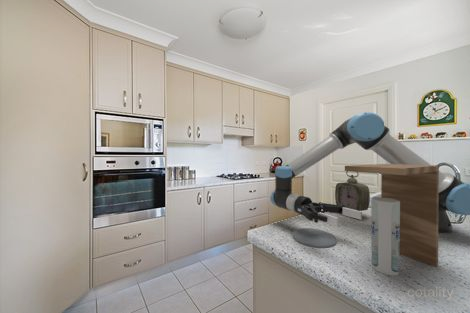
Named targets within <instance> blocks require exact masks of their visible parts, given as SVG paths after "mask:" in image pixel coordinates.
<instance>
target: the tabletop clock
mask: <svg viewBox="0 0 470 313" xmlns="http://www.w3.org/2000/svg"><path fill="white" fill-rule="evenodd" d="M348 173H349V171H345V174H346V176H347V177H349V178H348V179H347V180H346V182H338V183H336V185H335V190H334V198H335V205H342V206H343V205H345V206H346V208H349V209H353V210H357V211H361V212H363V211H368V209H369V208H370V204H371V203H370V202H371V201H370V200H371V199H370V196H371V195H370V194H371V193H370V188H369V186H368V185H366V184H364V183H360V182H358V179H357V177H359V175H360V174H359V172H356V173H357V175H354V174H351V175H349V174H348Z"/></svg>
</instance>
